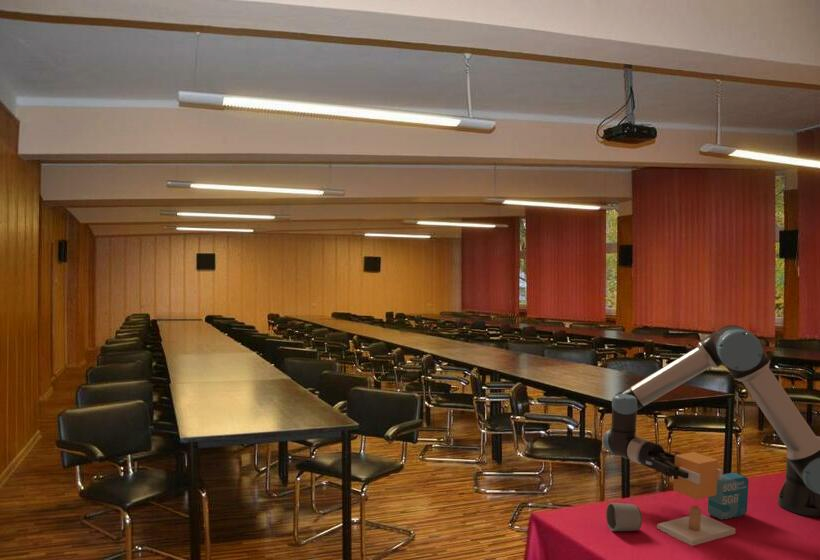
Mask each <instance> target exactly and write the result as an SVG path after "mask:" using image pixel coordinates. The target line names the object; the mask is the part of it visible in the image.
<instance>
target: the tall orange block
mask: <svg viewBox="0 0 820 560" xmlns="http://www.w3.org/2000/svg"><path fill="white" fill-rule="evenodd" d="M675 466H677V467H678V469H679V467H682V468H685V469H688V470H691V471H693V472H696V473H699V474H701V477H700V484H696V483H694V482H691V481H688V480H686V479H683V478H681V477H679V476H678V479H674V478H673V486H672V487H673V488H672V489H673V491H675V492H677V493H679V494H683V495H685V496H687V497H689V498H692V499H695V500H701V499H705V498H708V497H710V496H714V495H716V492H717V472H718V469H719V459H716V458H713V457H711V456H708V455H705V454H701V453H699V452H695V451H692V452H686V453H681V454H680V455H675Z"/></svg>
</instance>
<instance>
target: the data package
mask: <svg viewBox="0 0 820 560" xmlns="http://www.w3.org/2000/svg"><path fill="white" fill-rule="evenodd" d="M749 481H750V480H749V478H748V476H744V475H741V474H740V473H736V472H729V473H724V474H723V473H722V478H721V480H719V479H717V492H716V495H714V496H710V497H707V514H708V515H710V516H712V517H715V518H716V519H719V520H721V521H724V520H723V519H725V520H729V519H733V518H732V517H734V518H738V517H742V515H743V516H744V515H746V514H747V511H748V501H749V500H748V497H749V483H750V482H749ZM728 518H729V519H728Z"/></svg>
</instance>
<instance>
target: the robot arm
mask: <svg viewBox="0 0 820 560" xmlns="http://www.w3.org/2000/svg"><path fill="white" fill-rule="evenodd" d="M770 364H771V359H770V358H769V356H768V355H767V353H766V352H765V350H764V349H763V347H762V344H761V341H760V339H758V337H757V336H756V335H755V334H754V333H752V332H751V331H749V330H747V329H745V328H744V327H741V326H739V325H734V324H730V325H729V324H728V325H726V326H722V327H720V328H718V329H717V330H715V331H714V332H712V333H710V334H709V335H707V336H706V337H705V338H704V339H702V340H699V341H698V343H697V345H696V347H695V348H693V349H691V350H690V351H688V352H687V353H685V354H683V355H681V356H680V357H678V358H677V359H675V360H673V361H671V362H669V363H668V364H667V365H665V366H663V367H662V368H660V369H658V370H657V371H655V372H653V373H652V374H650V375H648V376H646V377H645V378H643V379H642V380H640V381H638V382H636V383H635V384H634V385H633V384H632V386H630V387H629V388H627V389H625V390H620V391H618V392H616V393H615V394H614V395H613V397H612V400H611V427H610V429H609V430H607V431H606V432H605V433H604V437H603V439H602V444H603V446H604V449H605V450H606V451H608V452H609V453H612V454H614V455H615V456H618V457H621V458H624V459H627V460H629V461H632V462H634V463H637V465H638V466H640V465H643V466H644V467H647V468H649V469H652V470H655V471H657V472H659V473H661V474H662V475H664V476H666V477H672V476H673V480H674V479H678V476H679V477H681V478H683V479H686V480H688V481H691V482H694V483H696V484H700V477H701V474H699V473H696V472H693V471H691V470H688V469H685V468H682V467H679V469H678V467H677V466H675V455H680V454H682V453H680V452H677V451H676V452H675V453H674V454H673V453H671V452H668V451H665V449H664V448H663V446H661V445H660V444H658V443H656V442H653V441H650V440H647V439H644V438H642V437H638V436H636V433H637V420H638V419H637V416H638V414H637V413H638V411H639V410H641V409H642V408H644V407H645V406H647V405H649V404H650V403H652V402H654V401H656V400H658V399H659V398H661V397H663V396H664V395H666V394H667V393H669V392H671V391H673V390H674V389H676V388H677V387H679V386H681V385H683V384H685V383H687V382H688V381H690V380H691V379H693V378H695V377H696V376H699V375H701V373H703V372H705V371H707V370H709V369H710V368H719V367H720V366H722V365H724V366H725V368H726V370H727V371H728V372H729V375H730V376H731V377H732V378H733V380H736V381H739V382H742V384H743V386H744V387H745V389H746V390H747V391H748V393H749V395H751V397H752V398H753V400H754V402H755V403H756V404H757V406H758V407H759V409H760V410H761V412H762V413H763V415H764V416H765V418H766V420H767V421H768V422H769V424H770V425H771V427H772V428H773V430H774V431H775V432H776V434H777V435H778V437H779V439H780V440H781V441H782V443H783V444H784V445H785V447H786V448H787V449H786V450H787V451H786V466H785V470H786V471H785V480H784V483H783V485H782V487H781V490H780V492H779V493H778V498H777V503H778V506H779V507H781V509H784V510H786V511H788V512H791V513H794V514H798V515H801V516H807V517H814V518H820V436H817V435H816V434H815V433H814V431H813V430H812V428H811V427H810V426H809V424H808V423H807V420H806V419H805V417H803V415H802V414H801V412H800V411H799V409H798V408H797V406H796V405H795V403H794V402H793V401H792V399H791V398H790V396H789V395H788V393H787V391H786V390H785V389H784V387H783V386H782V385H781V384H780V382H779V380H778V379H777V377H776V376H775V374H774V373H773V371H772V370H771V369H770ZM722 475H723V469H721V468H718V472H717V479H719V480H721V478H722Z"/></svg>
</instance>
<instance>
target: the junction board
mask: <svg viewBox="0 0 820 560" xmlns="http://www.w3.org/2000/svg"><path fill="white" fill-rule="evenodd" d="M657 528H658V529H660V530H661V531H660V530H659V531H660V532H662V531H663V533H664V532H665V534H666V533H667V535H669V536H670V537H673V538H675V539H677V540H679V541H681V542H682V543H686V544H687V545H689V546H691V547H692V546H693V547H694V546H698V545H700V544H703V543H704V544H705V543H707V542H710V541H714V540H717V539H722V538H725V537H728V536H732V535H735V534H736V528H735V527H732V526H730V525H727V524H725V523H723V522H721V521H718V520H716V519H713V518H712V517H709V516H707V515H705V514H703V513H702V510H701V508H699V506H696V505H694V506H691V507H690V508H689V515H687V516H684V517H680V518H676V519H671V520H668V521H663V522H660V523H657V525H656V529H657ZM658 529H657V530H658Z"/></svg>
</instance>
